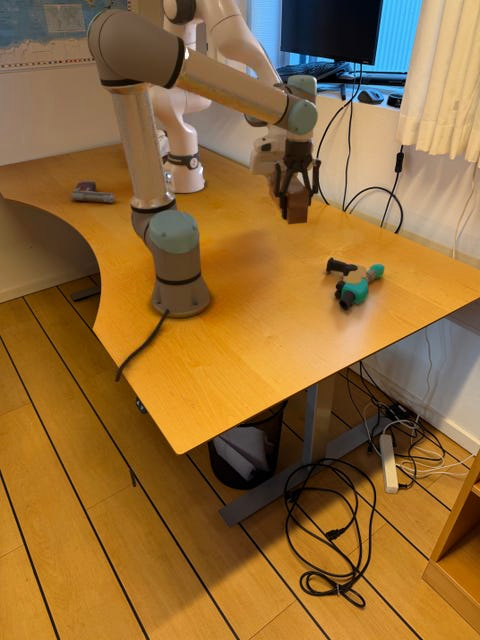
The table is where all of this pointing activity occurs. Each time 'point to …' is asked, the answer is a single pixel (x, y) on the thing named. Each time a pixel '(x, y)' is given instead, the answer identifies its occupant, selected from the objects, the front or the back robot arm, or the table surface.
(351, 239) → the table surface
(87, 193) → the toy gun
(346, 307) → the toy gun
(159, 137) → the sneaker
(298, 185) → the bar
